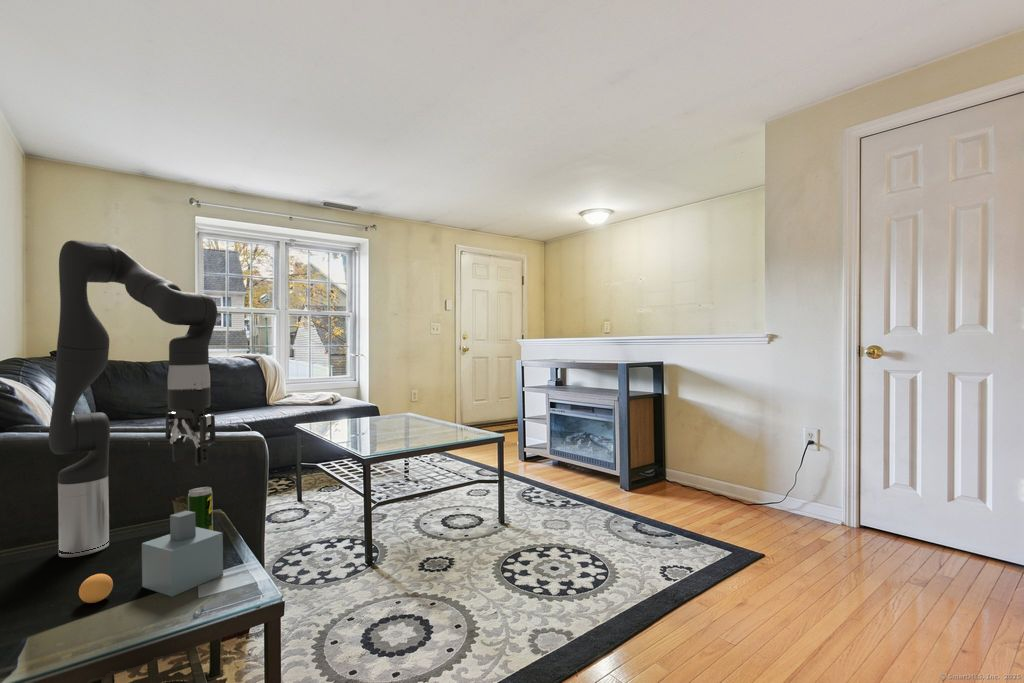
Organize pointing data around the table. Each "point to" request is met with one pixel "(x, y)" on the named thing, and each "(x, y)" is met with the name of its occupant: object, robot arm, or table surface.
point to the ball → (95, 588)
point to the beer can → (201, 506)
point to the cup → (180, 504)
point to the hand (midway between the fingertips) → (190, 462)
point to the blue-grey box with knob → (182, 556)
